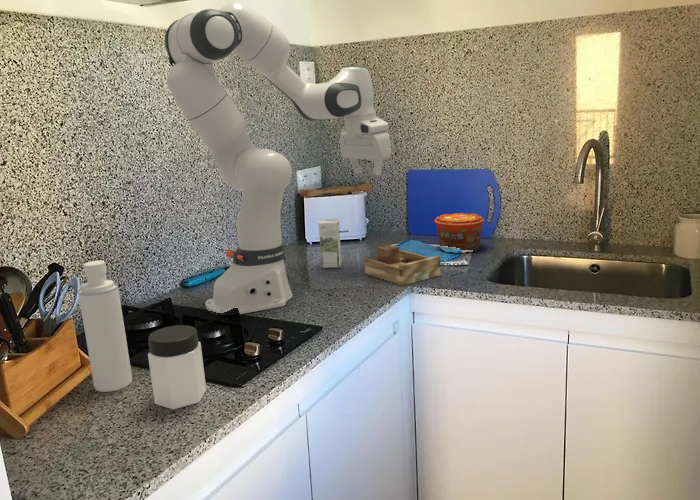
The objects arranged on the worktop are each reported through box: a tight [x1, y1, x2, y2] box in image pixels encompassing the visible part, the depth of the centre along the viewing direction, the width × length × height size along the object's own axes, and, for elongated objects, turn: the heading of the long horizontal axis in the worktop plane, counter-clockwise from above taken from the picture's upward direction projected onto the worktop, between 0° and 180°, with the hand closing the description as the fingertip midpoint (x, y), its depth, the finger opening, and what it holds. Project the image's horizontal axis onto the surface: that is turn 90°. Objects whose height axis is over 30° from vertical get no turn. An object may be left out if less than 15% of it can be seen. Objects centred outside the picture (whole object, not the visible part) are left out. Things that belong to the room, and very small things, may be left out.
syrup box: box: [318, 218, 342, 269], centre depth 184 cm, size 6×6×14 cm
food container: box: [433, 212, 485, 253], centre depth 197 cm, size 16×16×11 cm
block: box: [377, 244, 400, 265], centre depth 176 cm, size 4×4×4 cm
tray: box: [363, 249, 442, 286], centre depth 172 cm, size 14×17×6 cm
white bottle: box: [77, 259, 133, 393], centre depth 109 cm, size 7×7×25 cm
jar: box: [147, 324, 207, 411], centre depth 104 cm, size 9×8×12 cm
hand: (367, 174), depth 173 cm, fingers open, 8 cm apart
